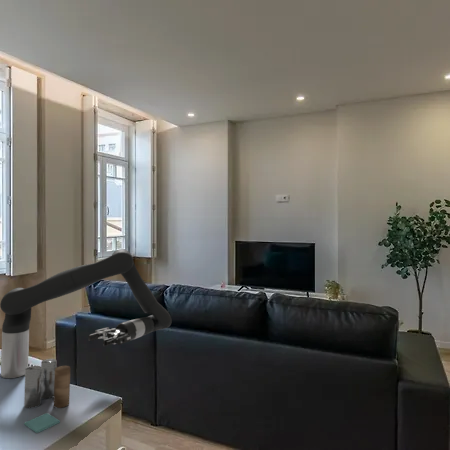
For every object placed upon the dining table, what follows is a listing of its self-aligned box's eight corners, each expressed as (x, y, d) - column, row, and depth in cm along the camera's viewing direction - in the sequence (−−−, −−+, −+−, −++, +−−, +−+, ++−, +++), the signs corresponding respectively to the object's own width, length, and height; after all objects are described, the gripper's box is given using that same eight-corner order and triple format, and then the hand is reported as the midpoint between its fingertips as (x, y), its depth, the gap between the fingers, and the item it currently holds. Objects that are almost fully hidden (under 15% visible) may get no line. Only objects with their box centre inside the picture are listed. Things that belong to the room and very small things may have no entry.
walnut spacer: (50, 404, 122) (51, 368, 121) (63, 399, 126) (65, 364, 125) (58, 409, 119) (60, 372, 119) (72, 403, 123) (73, 368, 123)
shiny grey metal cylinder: (37, 395, 127) (38, 361, 127) (50, 390, 131) (51, 357, 131) (45, 400, 124) (46, 365, 124) (58, 394, 128) (59, 361, 128)
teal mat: (24, 424, 110) (24, 422, 110) (46, 414, 115) (46, 412, 115) (37, 433, 106) (37, 431, 106) (59, 422, 112) (59, 420, 112)
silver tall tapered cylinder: (21, 405, 120) (22, 369, 120) (35, 399, 124) (36, 364, 124) (28, 410, 118) (30, 373, 118) (43, 404, 122) (44, 368, 122)
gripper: (119, 317, 150) (84, 326, 136) (143, 324, 142) (109, 334, 128) (118, 335, 150) (83, 346, 137) (143, 343, 142) (108, 355, 129)
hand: (96, 340), depth 133 cm, fingers open, 8 cm apart
